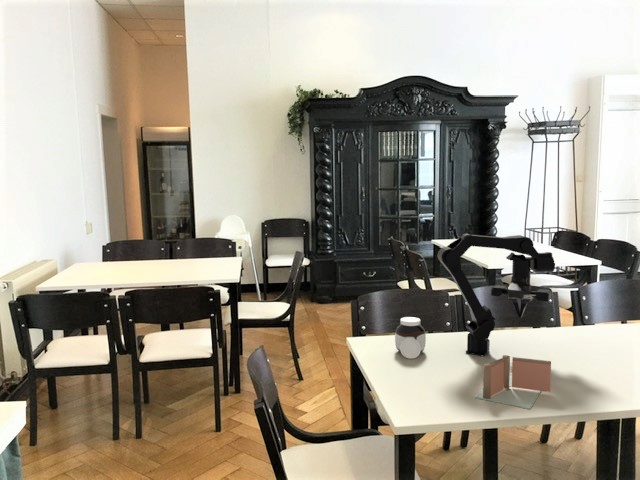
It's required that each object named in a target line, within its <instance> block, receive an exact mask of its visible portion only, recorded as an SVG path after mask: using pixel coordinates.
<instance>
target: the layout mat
mask: <svg viewBox="0 0 640 480" xmlns="http://www.w3.org/2000/svg"><path fill="white" fill-rule="evenodd" d="M509 386H511V387H509V388H504V387H503V390H502V391H500V392H498V393H496V394H494V395H492V396H491V398H490V399H485V398H483V387H482V388H481V390H479V392H478V393H477V394H476V395H475V397H474V398H476V399H480V400H485V401H489V402H494V403H499V404H503V405H508V406H513V407H517V408H522V409H528V410H531V409H532V407H533V405H534V404H535V402H536V400H537V399H538V397H539V396H540V394H541V392H542V391H538V390H530V389H522V388H514V387H512V373H510V376H509ZM506 389H512V390H506Z"/></svg>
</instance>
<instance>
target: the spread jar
mask: <svg viewBox="0 0 640 480" xmlns="http://www.w3.org/2000/svg"><path fill="white" fill-rule="evenodd" d="M426 335H427V334H426V331H425V328H424V327H423V326H422V325H421V319H420V318H419V317H414V316H404V317H401V318H400V324H399V325H398V326H397V327H396V329H395V333H394V343H395V348H396V350H398V352H399V353H401V356H403V358H407V359H409V360H413V359H416V358H417V357H418V356H419V355H420V354H421V353H422V352H424V350H425V348H426V341H427V340H426V339H427V337H426Z"/></svg>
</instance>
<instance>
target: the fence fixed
mask: <svg viewBox="0 0 640 480" xmlns="http://www.w3.org/2000/svg"><path fill="white" fill-rule="evenodd" d="M482 377H483V378H482V380H483V381H482V388H483V398H485V399H490V398H491V396H492V395H494V394H496V393H498V392H500V391H502V390H503V382H504V359H502V358H499V359H497V360H495V361H492V362H490V363H484V364H483V376H482ZM509 387H511V386H509ZM506 390H512V389H506Z"/></svg>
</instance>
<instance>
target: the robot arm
mask: <svg viewBox="0 0 640 480" xmlns="http://www.w3.org/2000/svg"><path fill="white" fill-rule="evenodd" d="M471 247H479V248H490V249H491V248H492V249H503V250H507V251H511V252H510V253H509V255H507V256H506V257H505V258H506V260H508V261H512V266H511V267H512V272H511V273H512V274H511V280H510V283H509V286H508V287H507V285H498V284H496V285H495V286H493V287H492V288H491V289H490V296H492V297H501V296H502V295H507V296H508V298H507V300H509V301H511V303H513V306H514V309H515V312H516V314H517V317H518V319H522V318H523V315H524V312H525V310H526V308H527V305H528V304H529V303H531V302H532V301H533V300H534V298H535V299H536V300H537V301H540V302H541V301H542V302H549V301H550V300H551V299H552V291H551V290H549V289H543V288H541V289H540V288H538V290H536V291H535V290H534V291H532V286H531V270H532V271H533V273H535V274H536V273H537V274H538V273H553V272H554V271H555V268H556V263H555V259H554V257H553V253H552V252H549V251H546V252H538V250H536V249H537V248H535V246H534V242H533V240H532V238H531V237H527V236H525V235H520V234H519V235H508V236H492V235H489V236H488V235H480V234H479V235H478V234H469V233H463V234H462V235H461V236H460V237H459V238H457V239H456V240H454V241H452V242H451V243H449V244H448V245H447V246H443V247H441V248H439V250H438V252H437V256H436V257H437V259H438V261H439V262H440V263H441V264H442V266H443V267H444V268H445V269H446V271H448V272H449V274H450V275H451V276H452V278H453V281H454V283H455V284H456V286H457V288H458V290H459V291H460V294H461V295H462V297H463V299H464V301H465V302H466V303H465V304H467V306H468V308H469V312H470V317H471V321H469V323H467V325H466V326H465V327H466V330H467V332H468V333H467V340H466V341H467V345H466V346H467V349H466V350H465V353H466V354H469V355H470V354H471V355H477V356H482V357H485V356H486V355H487V354H488V353H489V352H490V345H491V343H490V339H489V337H490V335H491V332H492V331H493V330H494V329H495V326H496V323H495V322H496V321H495V320H496V318H495V317H494V315H493V313H492V311H491V309H490V308H489V307H487V306H486V305H485V304H484V305H482V304H481V302H480V300H479V298H478V297H477V295H476V293H475V291H474V288H473V286H471V283H470V281H469V280H468V278H467V276H466V274H465V273H464V271H463V266H462V261H461V257H462V256H463V255H465V254H466V252H467V251H468V250H469V249H470V248H471ZM514 252H515V253H519V254H515V253H514ZM525 255H526V256H525Z"/></svg>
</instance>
